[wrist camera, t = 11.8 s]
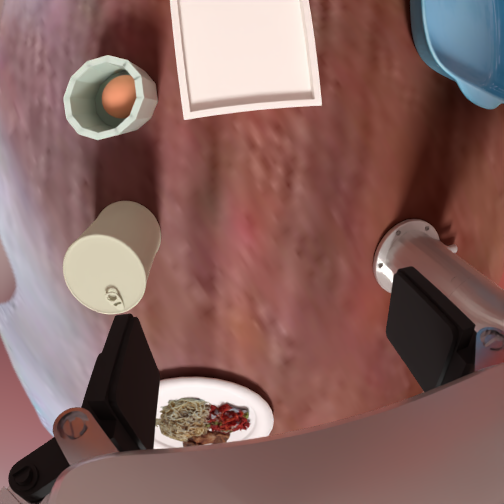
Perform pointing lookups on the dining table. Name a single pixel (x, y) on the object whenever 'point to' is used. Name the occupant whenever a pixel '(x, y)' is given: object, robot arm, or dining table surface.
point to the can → (113, 258)
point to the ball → (119, 96)
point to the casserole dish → (463, 44)
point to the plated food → (208, 413)
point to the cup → (90, 98)
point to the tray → (244, 55)
